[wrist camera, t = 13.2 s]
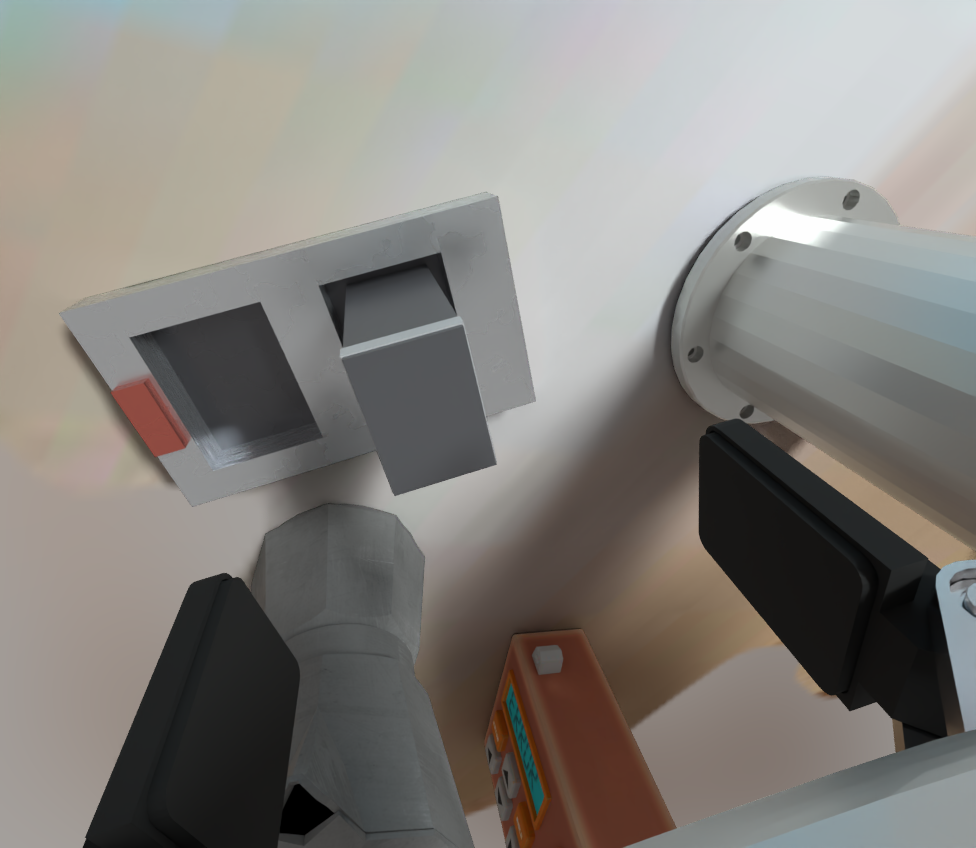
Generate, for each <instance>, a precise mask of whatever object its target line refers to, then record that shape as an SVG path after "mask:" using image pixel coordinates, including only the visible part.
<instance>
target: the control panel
mask: <svg viewBox="0 0 976 848" xmlns="http://www.w3.org/2000/svg"><path fill="white" fill-rule="evenodd" d="M484 745H485V751H486V755H487V760H488V765H489V769H490V773H491V777H492V782H493V787H494V791H495V797H496V802H497V806H498V811H499V815H500V819H501V823H502V828H503V832H504V837H505V843H506V848H623V847H626V846H629V845H632V844H634V843H637V842H640V841H643V840H646V839H648V838H651V837H654V836H657V835H660V834H662V833H665V832H668V831H671V830H674V829H676V826H675V823H674V821H673V819H672V817H671V815H670V813H669V811H668V809H667V806H666V804H665V802H664V800H663V798H662V796H661V794H660V792H659V789H658V787H657V785H656V783H655V781H654V779H653V777H652V775H651V773H650V770H649V768H648V766H647V764H646V762H645V760H644V758H643V756H642V753H641V752H640V749H639V747H638V745H637V743H636V741H635V739H634V737H633V734H632V732H631V730H630V728H629V726H628V724H627V722H626V720H625V717H624V715H623V713H622V711H621V709H620V707H619V705H618V703H617V701H616V698H615V696H614V694H613V692H612V690H611V688H610V686H609V684H608V681H607V679H606V677H605V675H604V673H603V671H602V669H601V667H600V665H599V662H598V660H597V658H596V656H595V654H594V652H593V650H592V648H591V645H590V643H589V641H588V639H587V637H586V635H585V633H584V631H583V630H582V629H571V630H559V631H547V632H535V633H523V634H515V635H513V636H512V640H511V643H510V647H509V651H508V655H507V658H506V662H505V666H504V670H503V673H502V677H501V681H500V685H499V688H498V692H497V696H496V700H495V703H494V707H493V711H492V715H491V718H490V722H489V726H488V730H487V733H486V737H485V741H484Z"/></svg>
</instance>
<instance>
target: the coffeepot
mask: <svg viewBox="0 0 976 848" xmlns="http://www.w3.org/2000/svg"><path fill="white" fill-rule="evenodd" d="M424 563H425V556H424V555H423V553H422V552H421V550H420V549H419V547H418V546H417V544H416V542H415V541H414V539H413V537H412V535H411V533H410V532H409V531H408V530H407V529H406V528H405V526H404V525H403V524H402V523H401V522H400V520H399V519H398V517H397V516H396V515H394V514H391V513H387V512H384V511H380V510H377V509H373V508H369V507H365V506H359V505H349V504H343V505H335V504H329V503H328V504H325V505H323V506H320V507H317V508H314V509H311V510H309V511H306V512H304V513H301V514H298V515H296V516H295V517H293V518H291V519H290V520H288V521H286V522H285V523H283V524H282V525H281V526H280V527H278V528H276V529H274V530H272V531H270V532H268V533H266V534H265V537H264V541H263V545H262V548H261V552H260V555H259V559H258V563H257V566H256V570H255V574H254V577H253V581H252V584H251V593H252V595H253V596H254V598H255V599H256V601H257V602H258V604H259V605H260V607H261V608H262V610H263V611H264V613H265V614H266V615H267V617H268V618H269V620H270V621H271V623H272V624H273V626H274V627H275V629H276V630H277V632H278V633H279V635H280V636H281V637H282V639H283V640H284V642H285V643H286V645H287V646H288V648H289V649H290V651H291V652H292V654H293V655H294V657H295V658H296V660H297V662H298V665H299V669H300V683H299V691H298V698H297V706H296V713H295V720H294V728H293V735H292V743H291V750H290V758H289V765H288V773H287V780H286V787H285V795H284V802H283V810H282V817H281V825H280V832H279V840H278V847H277V848H475V847H474V845H473V841H472V838H471V834H470V831H469V828H468V825H467V821H466V818H465V814H464V811H463V808H462V804H461V801H460V798H459V795H458V791H457V788H456V785H455V781H454V778H453V775H452V771H451V768H450V765H449V762H448V758H447V755H446V752H445V748H444V745H443V742H442V738H441V735H440V732H439V728H438V725H437V722H436V719H435V715H434V712H433V709H432V705H431V702H430V699H429V695H428V693H427V692H426V691H425V689H424V688H423V686H422V685H421V684H420V682H419V681H418V680H417V679H416V678H415V673H414V664H415V661H416V658H417V655H418V651H419V646H420V629H421V613H422V596H423V580H424Z"/></svg>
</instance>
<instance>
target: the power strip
mask: <svg viewBox="0 0 976 848" xmlns="http://www.w3.org/2000/svg"><path fill="white" fill-rule="evenodd" d="M423 264H426V265H427V267H428V268H429V270H430V272H431V273H432V275H433V277H434V278H435V280H436V282H437V283H438V285H439V287H440V288H441V290H442V291H443V293H444V295H445V296H446V298H447V300H448V301H449V303H450V305H451V306H452V308H453V310H454V311H455V313H456V315H457V316H460V317H461V319H462V320H463V322H464V326H465V330H466V334H467V339H468V343H469V347H470V351H471V355H472V360H473V364H474V368H475V372H476V376H477V381H478V385H479V389H480V393H481V397H482V402H483V406H484V410H485V414H486V416H490V415H493V414H496V413H499V412H503V411H506V410H509V409H512V408H516V407H519V406H522V405H525V404H529V403H532V402H535V401H536V399H535V394H534V388H533V383H532V377H531V372H530V366H529V361H528V356H527V350H526V345H525V339H524V334H523V329H522V323H521V318H520V312H519V307H518V302H517V296H516V291H515V285H514V280H513V274H512V269H511V264H510V258H509V253H508V247H507V242H506V237H505V231H504V226H503V220H502V215H501V210H500V204H499V199H498V196H496V195H493V194H490V193H488V192H484V193H480V194H477V195H473V196H469V197H465V198H462V199H458V200H454V201H450V202H446V203H443V204H439V205H435V206H431V207H428V208H424V209H420V210H416V211H412V212H409V213H405V214H401V215H397V216H394V217H390V218H386V219H382V220H378V221H375V222H371V223H367V224H363V225H360V226H356V227H352V228H348V229H344V230H341V231H337V232H333V233H329V234H326V235H322V236H318V237H314V238H310V239H307V240H303V241H299V242H295V243H292V244H288V245H284V246H280V247H276V248H273V249H269V250H265V251H261V252H258V253H254V254H250V255H246V256H243V257H239V258H235V259H231V260H227V261H224V262H220V263H216V264H212V265H209V266H205V267H201V268H197V269H193V270H190V271H186V272H182V273H178V274H175V275H171V276H167V277H163V278H159V279H156V280H152V281H148V282H144V283H141V284H137V285H133V286H129V287H125V288H122V289H118V290H114V291H110V292H107V293H103V294H99V295H95V296H91V297H88V298H85V299H83V300H81V301H79V302H78V303H76V304H74V305H72V306H71V307H69V308H67V309H65V310H64V311H62V312H60V313H59V314H60V316H61V317H62V319H63V320H64V322H65V323H66V325H67V326H68V327H69V329H70V330H71V332H72V333H73V335H74V336H75V338H76V339H77V341H78V342H79V343H80V345H81V346H82V348H83V349H84V351H85V352H86V354H87V355H88V356H89V358H90V359H91V361H92V362H93V364H94V365H95V367H96V368H97V370H98V371H99V372H100V374H101V375H102V377H103V378H104V380H105V381H106V383H107V384H108V386H109V387H110V388H111V390H112V391H111V392H110V393H111V394H112V395H113V397H114V398H115V400H116V401H117V403H118V404H119V406H120V407H121V409H122V410H123V411H124V413H125V414H126V416H127V417H128V419H129V420H130V422H131V423H132V424H133V426H134V427H135V429H136V430H137V432H138V433H139V435H140V436H141V437H142V439H143V440H144V442H145V443H146V445H147V446H148V448H149V449H150V450H151V452H152V453H153V455H154V456H155V457H158V458H159V460H160V461H161V463H162V464H163V465H164V467H165V468H166V470H167V471H168V473H169V474H170V476H171V477H172V479H173V480H174V481H175V483H176V484H177V486H178V487H179V489H180V490H181V492H182V493H183V494H184V496H185V497H186V499H187V500H188V502H189V503H190V504H191V506H192V507H194V506H196V505H200V504H203V503H207V502H210V501H213V500H216V499H220V498H223V497H226V496H229V495H233V494H236V493H239V492H242V491H246V490H249V489H252V488H255V487H259V486H262V485H265V484H268V483H272V482H275V481H278V480H281V479H285V478H288V477H291V476H294V475H298V474H301V473H304V472H307V471H311V470H314V469H317V468H321V467H324V466H327V465H330V464H334V463H337V462H340V461H343V460H347V459H350V458H353V457H356V456H360V455H363V454H366V453H369V452H373V451H376V448H375V446H374V443H373V440H372V438H371V435H370V433H369V430H368V428H367V425H366V422H365V420H364V417H363V415H362V412H361V410H360V407H359V404H358V402H357V399H356V397H355V394H354V392H353V389H352V386H351V384H350V381H349V379H348V376H347V374H346V371H345V368H344V366H343V363H342V361H341V358H340V349H341V348H343V335H344V317H345V299H346V285H348V284H352V283H355V282H359V281H363V280H367V279H371V278H374V277H378V276H382V275H386V274H389V273H393V272H397V271H401V270H405V269H408V268H412V267H416V266H420V265H423Z"/></svg>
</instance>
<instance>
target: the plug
mask: <svg viewBox="0 0 976 848" xmlns="http://www.w3.org/2000/svg"><path fill="white" fill-rule="evenodd" d="M340 358H341V361H342V363H343V366H344V368H345V371H346V374H347V376H348V379H349V381H350V384H351V386H352V389H353V392H354V394H355V397H356V399H357V402H358V404H359V407H360V410H361V412H362V415H363V417H364V420H365V422H366V425H367V428H368V430H369V433H370V435H371V438H372V440H373V443H374V446H375V448H376V451H377V453H378V456H379V459H380V461H381V464H382V466H383V469H384V471H385V474H386V477H387V479H388V482H389V484H390V487H391V489H392V492H393V494H394V495H395V496H396V495H400V494H403V493H406V492H409V491H413V490H416V489H419V488H422V487H426V486H429V485H432V484H435V483H439V482H442V481H445V480H448V479H451V478H455V477H458V476H461V475H464V474H468V473H471V472H474V471H477V470H481V469H484V468H487V467H490V466H494V465H497V464H496V462H497V461H496V456H495V452H494V448H493V444H492V440H491V435H490V431H489V427H488V423H487V419H486V414H485V410H484V406H483V402H482V397H481V393H480V389H479V385H478V381H477V376H476V372H475V368H474V364H473V360H472V355H471V351H470V347H469V343H468V339H467V334H466V330H465V326H464V322H463V320H462V319H461V317H460V316H457V315H456V313H455V311H454V310H453V308H452V306H451V305H450V303H449V301H448V300H447V298H446V296H445V295H444V293H443V291H442V290H441V288H440V287H439V285H438V283H437V282H436V280H435V278H434V277H433V275H432V273H431V272H430V270H429V268H428V267H427V265H426V264H423V265H420V266H416V267H412V268H408V269H405V270H401V271H397V272H393V273H389V274H386V275H382V276H378V277H374V278H371V279H367V280H363V281H359V282H355V283H352V284H348V285H346V299H345V317H344V335H343V348H341V349H340Z"/></svg>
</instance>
